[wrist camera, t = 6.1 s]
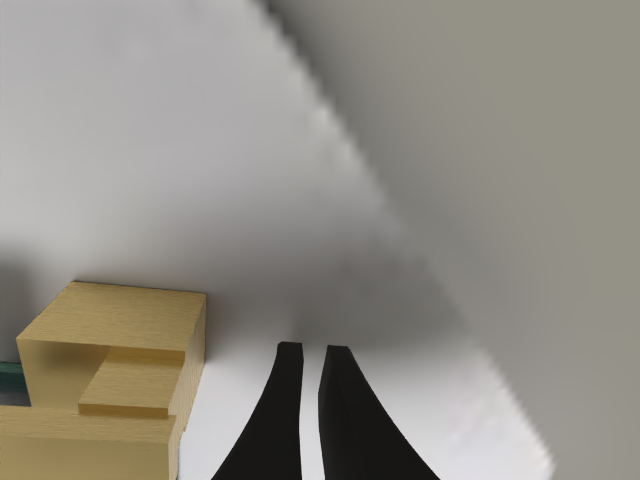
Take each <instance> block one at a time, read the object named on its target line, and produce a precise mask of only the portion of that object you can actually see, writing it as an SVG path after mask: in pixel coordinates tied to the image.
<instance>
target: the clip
mask: <svg viewBox="0 0 640 480" xmlns="http://www.w3.org/2000/svg"><path fill="white" fill-rule="evenodd" d="M205 325H206V294H205V293H194V292H183V291H172V290H161V289H150V288H140V287H129V286H118V285H107V284H96V283H85V282H74V281H71V282H70V283H69V284H68V285H67V286H66V287H65V288H64V289H63V291H62V292H61V293H60V294H59V295H58V296H57V297H56V298H55V299H54V300H53V301H52V302H51V303H50V304H49V305H48V306H47V307H46V308H45V309H44V310H43V311H42V312H41V313H40V314H39V315H38V316H37V317H36V318H35V319H34V320H33V321H32V322H31V323H30V324H29V325H28V326H27V327H26V328H25V329H24V330H23V331H22V332H21V333H20V334H19V335H18V337H17V338H16V342H17V347H18V351H19V355H20V359H21V363H22V368H23V372H24V376H25V380H26V385H27V389H28V393H29V397H30V401H31V406H32V407H22V406H4V405H0V480H176V477H177V473H178V447H179V443H180V440H181V437H182V433H183V431H185V430H186V427H187V423H188V420H189V416H190V413H191V410H192V406H193V403H194V399H195V396H196V392H197V389H198V385H199V382H200V379H201V375H202V372H203V368H204V359H205Z"/></svg>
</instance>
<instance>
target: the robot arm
mask: <svg viewBox="0 0 640 480" xmlns="http://www.w3.org/2000/svg"><path fill="white" fill-rule="evenodd" d="M303 363H304V358H303V348H302V343H295V342H280V343H279V344H278V347H277V354H276V359H275V362H274V365H273V368H272V371H271V374H270V376H269V379H268V381H267V384H266V386H265V388H264V391H263V393H262V395H261V397H260V399H259V401H258V403H257V405H256V407H255V409H254V411H253V413H252V415H251V417H250V419H249V421H248V423H247V424H246V426H245V428H244V430H243V431H242V433H241V435H240V437H239V438H238V440H237V441H236V443H235V445H234V446H233V448H232V450H231V451H230V453H229V454H228V456H227V457H226V459H225V460H224V462H223V463H222V465H221V466H220V468H219V469H218V471H217V472H216V473H215V475H214V476H213V478H212V479H211V480H302V472H301V456H300V437H299V414H300V402H301V389H302V376H303ZM318 419H319V434H320V442H321V450H322V458H323V466H324V474H325V480H440V479H439V478H438V477H437V476H436V475H435V473H434V472H433V471H432V470H431V469H430V468H429V467H428V465H427V464H426V463H425V462H424V461H423V460H422V458H421V457H420V456H419V455H418V454H417V452H416V451H415V450H414V449H413V447H412V446H411V445H410V444H409V442H408V441H407V440H406V439H405V437H404V436H403V435H402V433H401V432H400V431H399V429H398V428H397V426H396V425H395V424H394V422H393V421H392V419H391V418H390V417H389V415H388V414H387V412H386V411H385V409H384V408H383V406H382V405H381V403H380V401H379V400H378V398H377V397H376V395H375V393H374V392H373V390H372V389H371V387H370V385H369V384H368V382H367V380H366V379H365V377H364V375H363V373H362V372H361V370H360V368H359V366H358V364H357V362H356V360H355V359H354V357H353V355H352V353H351V351H350V349H349V348H348V347H347V346H334V345H328V347H327V352H326V357H325V362H324V367H323V372H322V377H321V382H320V387H319V392H318Z"/></svg>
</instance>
